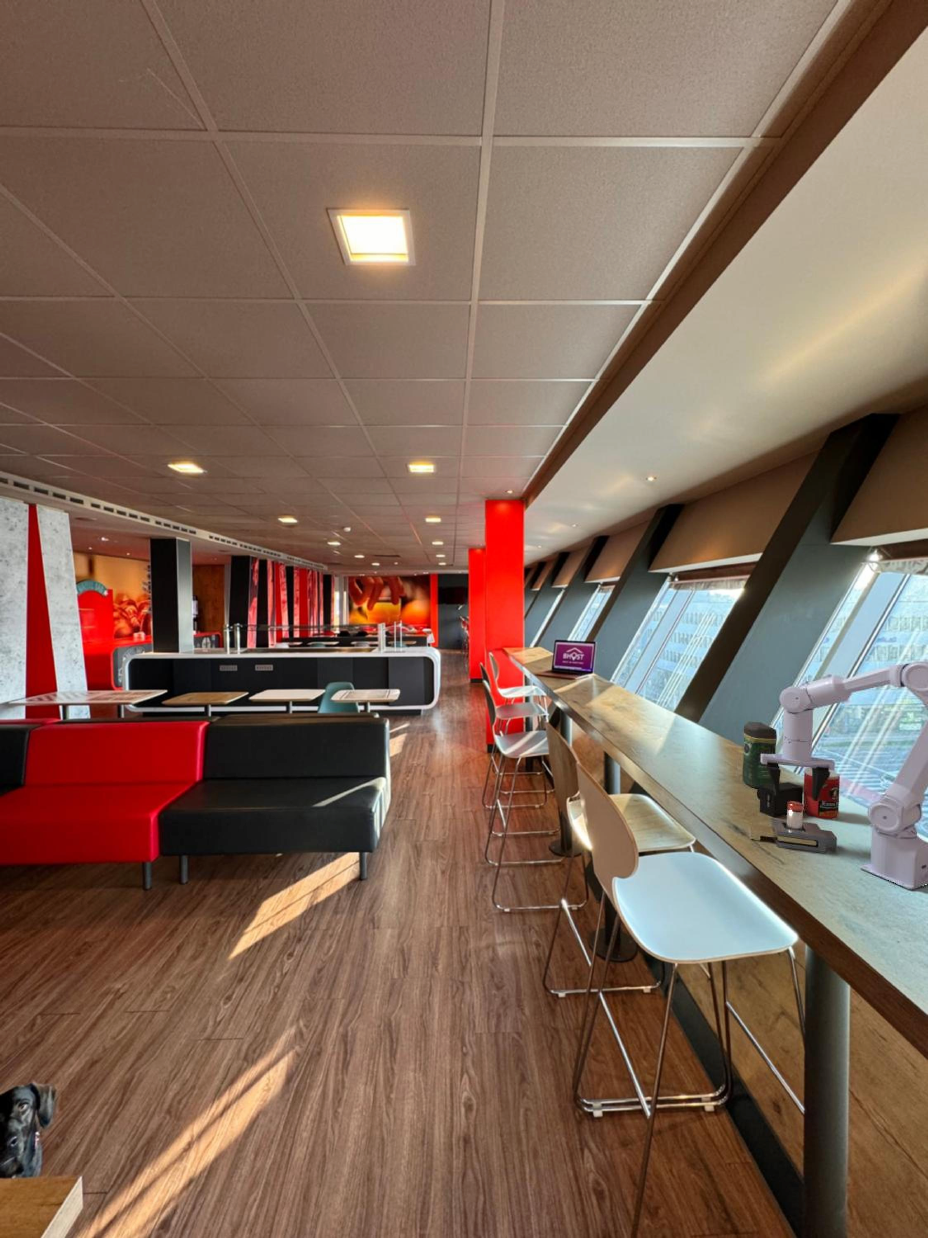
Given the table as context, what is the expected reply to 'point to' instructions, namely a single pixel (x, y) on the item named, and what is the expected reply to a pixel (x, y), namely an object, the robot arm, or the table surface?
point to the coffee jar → (757, 753)
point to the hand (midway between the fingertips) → (795, 797)
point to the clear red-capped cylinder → (794, 815)
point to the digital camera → (778, 798)
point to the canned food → (822, 796)
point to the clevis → (796, 836)
